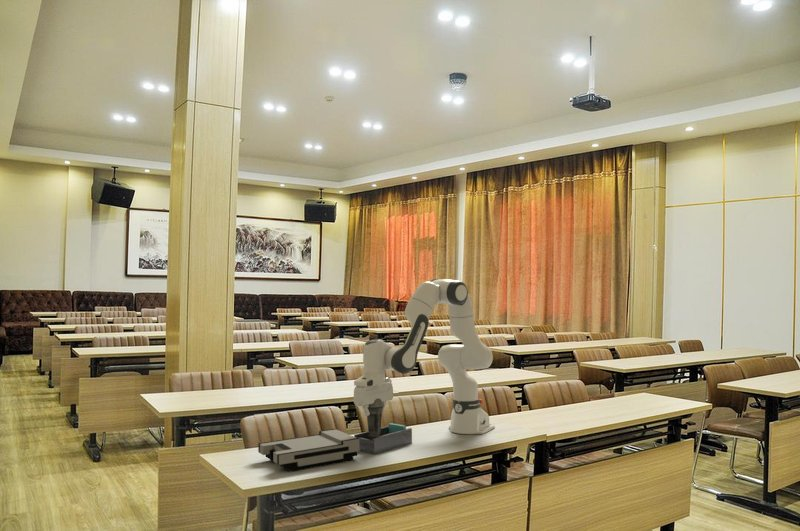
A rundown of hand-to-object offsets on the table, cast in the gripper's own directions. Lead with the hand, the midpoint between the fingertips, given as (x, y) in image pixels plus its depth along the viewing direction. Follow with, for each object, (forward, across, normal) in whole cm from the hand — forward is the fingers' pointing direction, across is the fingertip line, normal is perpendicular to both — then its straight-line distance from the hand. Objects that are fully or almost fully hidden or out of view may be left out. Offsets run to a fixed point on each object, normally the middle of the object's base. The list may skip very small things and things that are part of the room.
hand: (374, 414), depth 242 cm
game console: (+14, +28, -8) cm, 32 cm away
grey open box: (+14, -6, 0) cm, 15 cm away
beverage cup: (+9, 0, 0) cm, 9 cm away
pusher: (+13, -14, 0) cm, 19 cm away
